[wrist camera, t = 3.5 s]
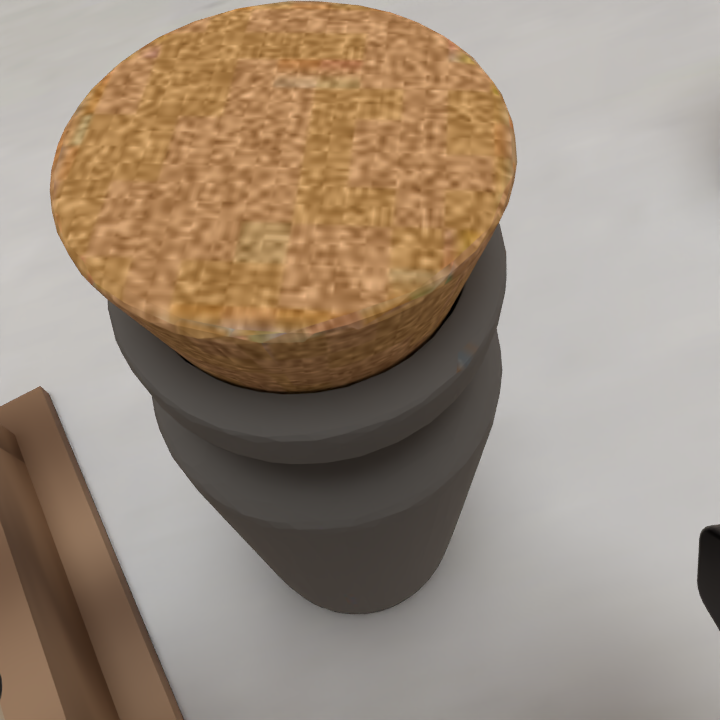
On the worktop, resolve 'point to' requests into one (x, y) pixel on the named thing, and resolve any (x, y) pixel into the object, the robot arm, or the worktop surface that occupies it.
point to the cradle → (64, 588)
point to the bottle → (305, 276)
